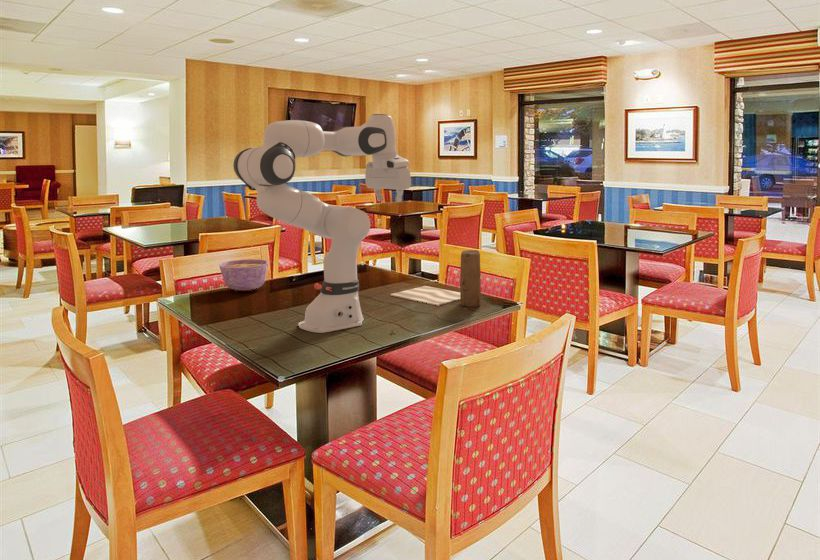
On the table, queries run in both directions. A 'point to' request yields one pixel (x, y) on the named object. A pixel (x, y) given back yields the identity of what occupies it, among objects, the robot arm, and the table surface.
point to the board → (429, 295)
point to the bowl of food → (244, 273)
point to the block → (470, 278)
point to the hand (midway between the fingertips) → (389, 201)
